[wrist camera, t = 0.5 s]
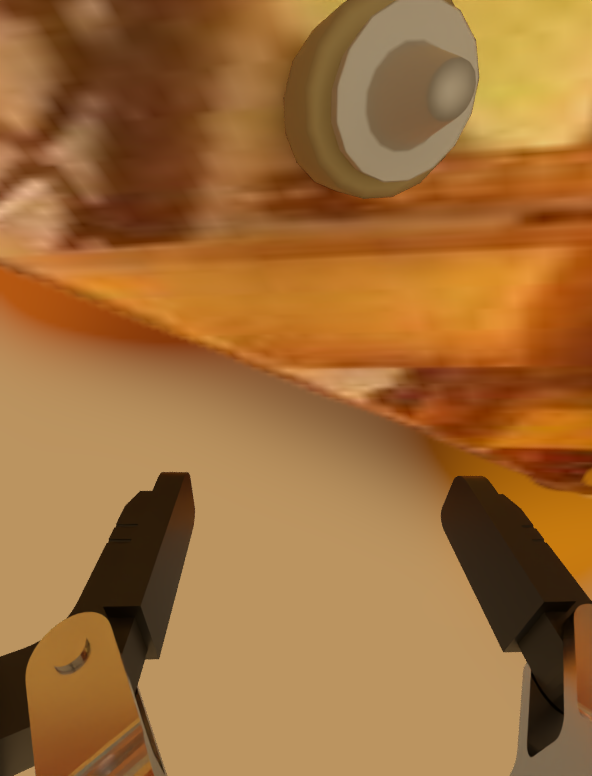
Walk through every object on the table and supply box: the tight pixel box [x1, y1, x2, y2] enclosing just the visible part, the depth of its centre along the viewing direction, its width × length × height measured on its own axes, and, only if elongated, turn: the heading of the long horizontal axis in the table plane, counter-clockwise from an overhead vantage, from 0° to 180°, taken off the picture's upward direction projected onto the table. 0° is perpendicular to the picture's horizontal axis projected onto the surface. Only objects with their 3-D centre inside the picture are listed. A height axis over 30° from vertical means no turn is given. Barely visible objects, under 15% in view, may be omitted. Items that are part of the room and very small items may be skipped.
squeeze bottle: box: [284, 0, 479, 199], centre depth 15 cm, size 8×8×18 cm
